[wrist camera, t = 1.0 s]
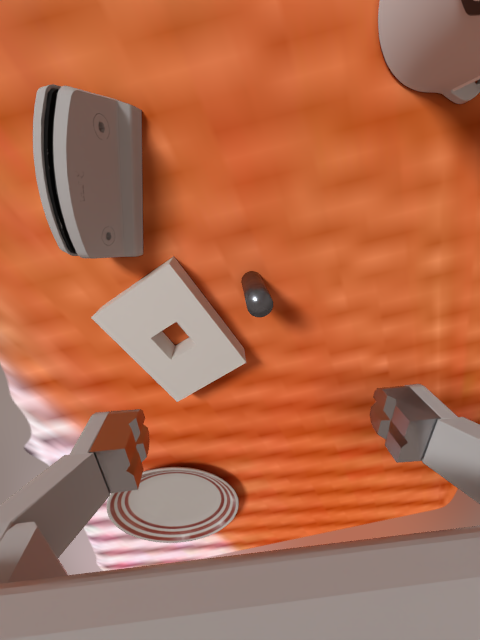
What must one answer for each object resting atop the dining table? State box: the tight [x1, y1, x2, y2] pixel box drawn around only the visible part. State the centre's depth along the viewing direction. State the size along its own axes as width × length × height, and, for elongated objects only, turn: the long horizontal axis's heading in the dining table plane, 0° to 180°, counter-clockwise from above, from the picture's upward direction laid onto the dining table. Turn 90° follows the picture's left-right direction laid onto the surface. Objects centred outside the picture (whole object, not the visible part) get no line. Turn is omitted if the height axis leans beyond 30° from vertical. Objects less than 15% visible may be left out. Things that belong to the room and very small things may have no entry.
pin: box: [241, 271, 273, 317], centre depth 35 cm, size 3×3×9 cm
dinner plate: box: [107, 467, 239, 543], centre depth 58 cm, size 28×27×3 cm
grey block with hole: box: [91, 257, 246, 402], centre depth 40 cm, size 13×18×4 cm
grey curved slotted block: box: [33, 85, 143, 258], centre depth 29 cm, size 17×5×10 cm, turn 172°
